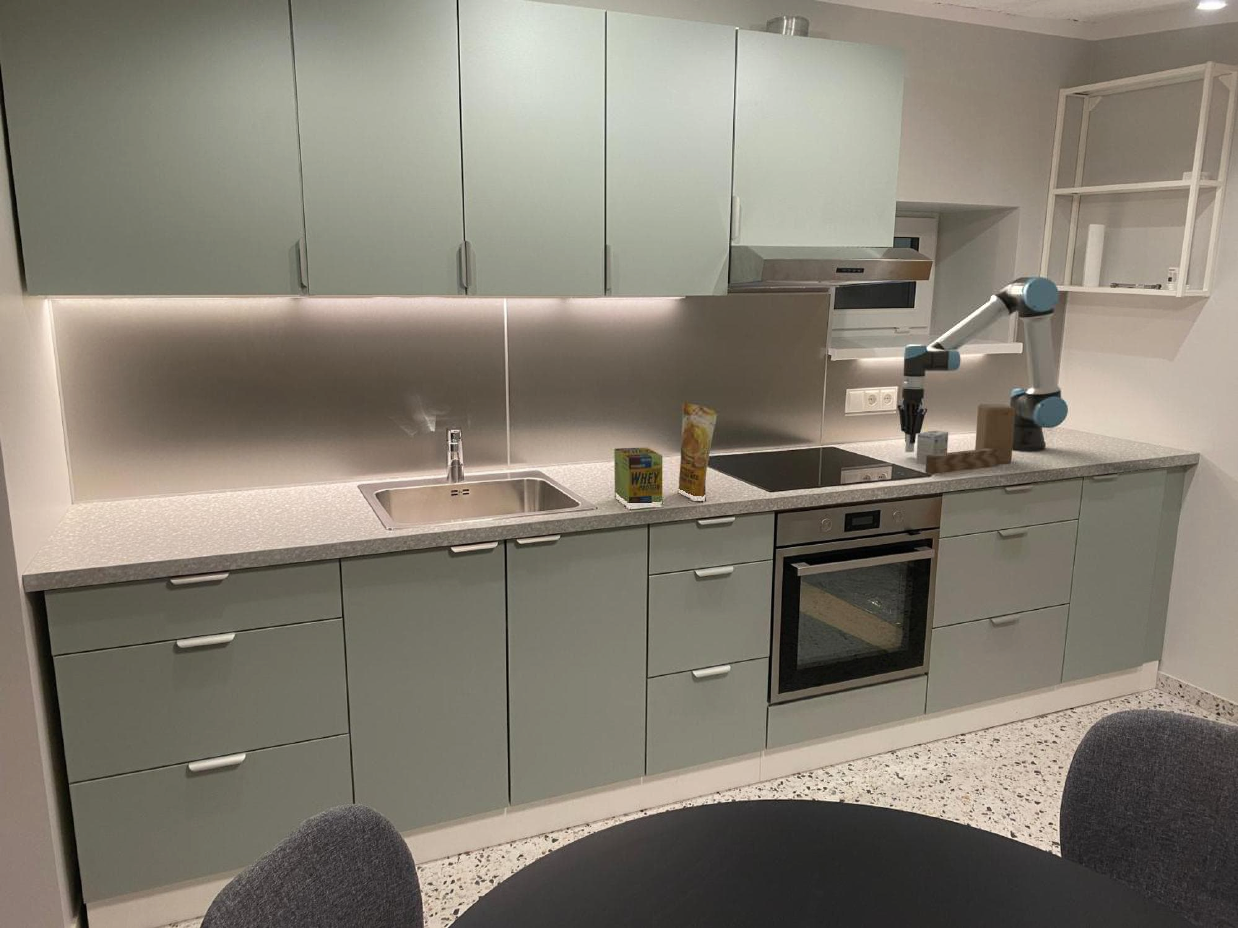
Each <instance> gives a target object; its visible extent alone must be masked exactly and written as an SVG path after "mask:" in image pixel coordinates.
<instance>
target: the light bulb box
mask: <svg viewBox="0 0 1238 928" xmlns="http://www.w3.org/2000/svg"><path fill="white" fill-rule="evenodd" d="M916 441H917V442H916V445H917V446H916V457H915V458H916V462H915V463H916V464H920V465H926V456H927V455H934V454H942V453H948V445H949V444H948V443H949V431H944V430H943V431H942V430H936V429H935V430H934V429H931V430H928V431H923V432H920V433H919V434H917V439H916Z"/></svg>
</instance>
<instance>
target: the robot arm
mask: <svg viewBox="0 0 1238 928" xmlns="http://www.w3.org/2000/svg"><path fill="white" fill-rule="evenodd" d="M1059 294H1060V293H1059V289H1058V287H1057V285H1056V284H1055V282H1054V281H1052V280H1051V279H1049V278H1046V277H1043V276H1032V277H1031V276H1030V277H1027V276H1026V277H1025V276H1024V277H1018V278H1016V279H1014V280H1012V281H1011V282H1009V283H1008V284H1006V285H1005V286H1003V287H1001V289H999V290H998V291H996V292H995V293H993V295H992V296H990V300H989V301H988V302H986V303H985V304H984V305H982V306H981V307H980V308H978V309H977V310H975V311H974V312H973V313H972V314H970V315H968V317H966V318H965V319H963V320H962V321H960V323H958V324H956V325H955V326H954V327H952V328H951V329H949V330H948V331H947V332H946V333H944V334H942V336H940V337H939V338H937V339H936V340H934V341H933V342H932V343H931V344H929V345H928V346H927V345H926V344H907V345H906V346H905V348H904V353H903V354H904V355H903V376H902V377H903V379H902V386H903V388H902V389H901V390H902V391H901V393H902V394H901V397H902V399H903V400H902V403H901V404H897V410H898V412H899V413H898V414H899V422H900V431H901V432H903V433H904V436H905V437H904V442H905V452H906V453H914V452H915V444H916V440H917V439H916V438H917V435H918V434H920V433H922V428H923V424H924V419H925V415H926V414H927V412H928V408H925V407H923V399H924V397H925V389H924V387H925V385H926V383H925V381H926V372H954V371H957V370H959V368H960V366H961V360H962V359H961V354H960V352H959V351H958V350H959V349H961V348H962V347H963V346H965V345H966V344H967V343H969V342H970V341H972V340H973V339H975V338H976V337H977V336H978V335H980V334H982V332H984V331H986V329H989V327H991V326H992V325H994V324H995V323H996V322H998V321H999V320H1001V319H1002V318H1003V317H1005V318H1008V317H1009V316H1011V315H1012V314H1015V313H1016V312H1017V314H1018V319H1020V320H1021V321H1022V322H1023V328H1024V340H1025V350H1026V360H1027V361H1026V362H1027V372H1028V381H1029V387H1028V388H1014V389H1012V391H1011V396H1010V398H1009V399H1010V403H1009V404H1010V405H1009V406H1011V407H1013V408H1015V420H1014V434H1013V447H1012V451H1016V452H1017V451H1018V452H1019V451H1020V452H1041V451H1045V450H1046V445H1047V443H1046V441H1045V438H1044V432H1043V428H1047V429H1052V428H1055V427H1058V426H1059V425H1061V424H1062V423H1063V422H1064V421H1065V420H1066V419H1067V416H1068V413H1069V408H1068V404H1067V402H1066V401H1065V399H1063V398H1062V389H1061V387H1060V386H1058V385H1057V383H1056V376H1055V373H1056V372H1055V365H1054V364H1055V363H1054V350H1053V339H1052V326H1051V318H1052V316H1053V315H1054V314H1055V306H1056V304H1057V302H1058V300H1059V296H1060V295H1059Z"/></svg>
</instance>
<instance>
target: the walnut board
mask: <svg viewBox="0 0 1238 928" xmlns="http://www.w3.org/2000/svg"><path fill="white" fill-rule="evenodd" d="M998 457H999V449H996V448H985V449H977V450H975V449H970V450H962V451H959V450H958V451H952V452H947V453H942V454H934V455H927V456H926V464H925V474H928V473H930V474H929V475H938V474H937V473H940V474H945V473H946V474H947V473H953V472H954V473H955V472H960V471H969V470H971V471H972V470H977V469H978V468H979V469H986V468H993V467H998V466H999V464H998Z"/></svg>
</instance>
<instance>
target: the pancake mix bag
mask: <svg viewBox="0 0 1238 928" xmlns="http://www.w3.org/2000/svg"><path fill="white" fill-rule="evenodd" d="M681 409H682V410H681V411H682V413H681V414H682V415H681V432H680V433H681V434H680V435H681V436H680V437H681V440H680V464H679V474H678V475H679V477H678V489H680V490H683V491H685V492H686V493H688V494H691V495H693V496H702V497H703V496H704V495H705V494H706V495H707V493H706V481H707V478H706V477H707V469H708V466H709V464H708V463H709V458H710V452H711V449H712V443H713V438H714V433H715V430H716V425H717V423H718V417H719V416H718V412H717V410H716V409H715V408H711V407H707V406H703V405H700V404H695V403H692V402H691V403H690V402H687V401H686V402H683V403H682V404H681Z"/></svg>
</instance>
